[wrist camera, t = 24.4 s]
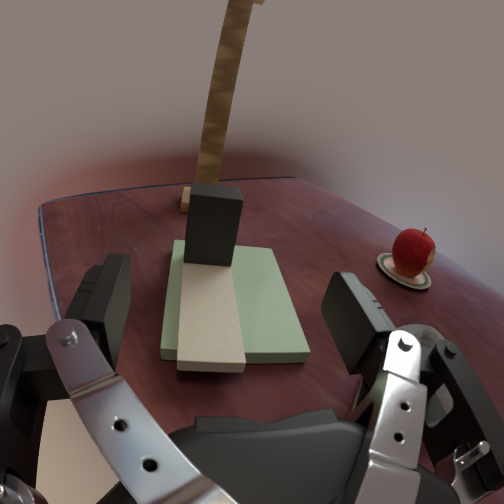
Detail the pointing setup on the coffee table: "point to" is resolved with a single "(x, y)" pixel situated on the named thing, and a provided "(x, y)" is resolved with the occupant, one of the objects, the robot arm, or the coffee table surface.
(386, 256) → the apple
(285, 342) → the pale green rectangular panel
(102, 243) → the coffee table surface
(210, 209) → the wooden mallet
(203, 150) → the stand
